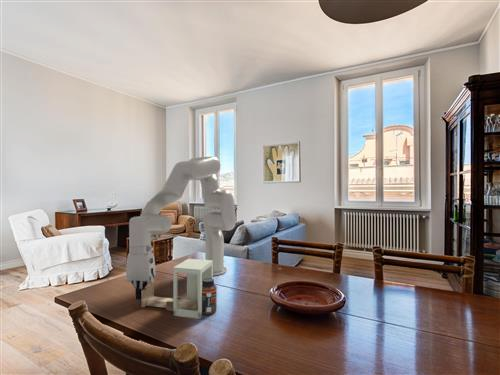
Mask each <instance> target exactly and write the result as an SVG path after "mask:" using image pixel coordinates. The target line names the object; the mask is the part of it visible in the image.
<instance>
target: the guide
mask: <svg viewBox="0 0 500 375" xmlns="http://www.w3.org/2000/svg"><path fill="white" fill-rule="evenodd" d="M178 299H181V300H182V296H179V295H178ZM165 311H169V312H173V301H167V302H166V308H165Z"/></svg>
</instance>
